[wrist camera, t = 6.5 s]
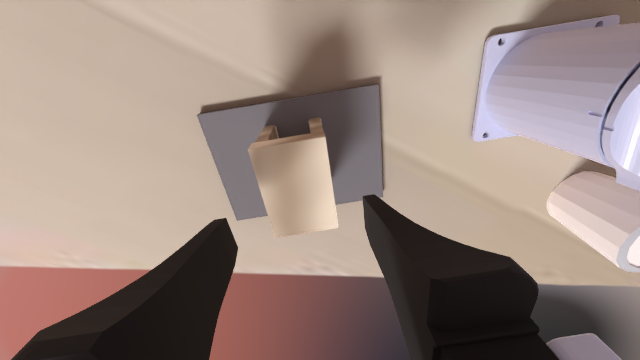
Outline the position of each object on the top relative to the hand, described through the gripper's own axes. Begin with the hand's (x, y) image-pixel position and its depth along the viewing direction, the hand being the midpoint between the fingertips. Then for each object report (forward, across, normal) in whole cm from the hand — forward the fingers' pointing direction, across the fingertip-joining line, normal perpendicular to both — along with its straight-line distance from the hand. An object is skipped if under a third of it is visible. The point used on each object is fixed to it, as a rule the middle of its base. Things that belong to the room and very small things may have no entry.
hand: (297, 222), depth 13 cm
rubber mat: (+9, 0, 0) cm, 9 cm away
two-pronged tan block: (+9, 0, 0) cm, 9 cm away
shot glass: (+10, -27, +9) cm, 30 cm away
